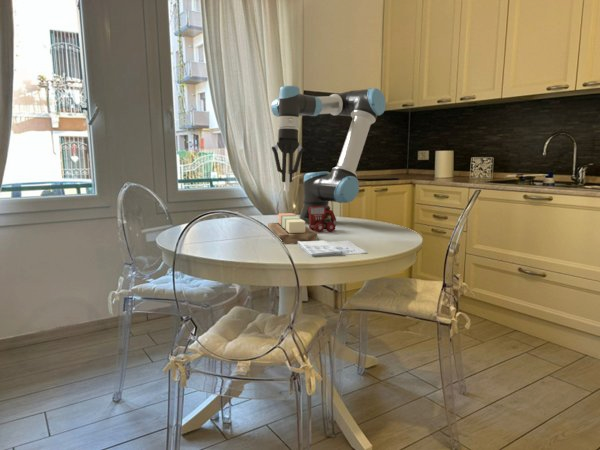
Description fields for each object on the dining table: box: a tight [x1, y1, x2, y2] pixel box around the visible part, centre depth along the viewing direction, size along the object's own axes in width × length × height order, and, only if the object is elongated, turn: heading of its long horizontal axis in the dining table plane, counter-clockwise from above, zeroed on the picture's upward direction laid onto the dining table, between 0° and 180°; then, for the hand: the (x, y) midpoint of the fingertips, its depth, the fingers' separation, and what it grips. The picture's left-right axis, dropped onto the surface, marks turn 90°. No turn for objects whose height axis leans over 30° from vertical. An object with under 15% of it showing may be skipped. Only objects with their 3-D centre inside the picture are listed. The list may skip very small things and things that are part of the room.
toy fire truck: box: [308, 205, 337, 234], centre depth 179 cm, size 7×12×10 cm, turn 113°
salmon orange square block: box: [277, 212, 297, 226], centre depth 176 cm, size 6×6×4 cm
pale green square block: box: [282, 215, 300, 229], centre depth 168 cm, size 6×6×4 cm
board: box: [267, 221, 318, 244], centre depth 169 cm, size 14×26×3 cm, turn 13°
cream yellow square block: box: [286, 219, 306, 233], centre depth 161 cm, size 6×6×4 cm
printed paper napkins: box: [297, 239, 368, 257], centre depth 147 cm, size 19×20×2 cm
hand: (286, 190), depth 168 cm, fingers closed
